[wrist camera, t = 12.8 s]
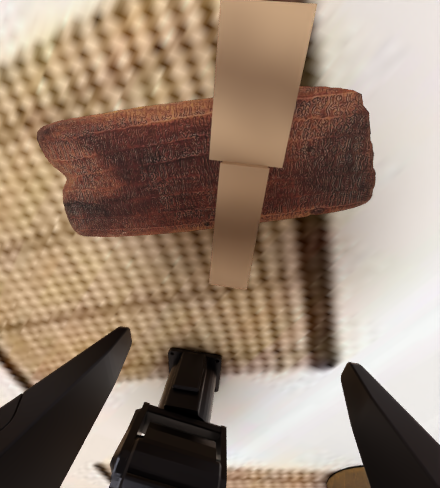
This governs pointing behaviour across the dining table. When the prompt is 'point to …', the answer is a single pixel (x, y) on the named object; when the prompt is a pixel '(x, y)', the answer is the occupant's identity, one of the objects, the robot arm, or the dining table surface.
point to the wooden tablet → (204, 165)
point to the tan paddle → (252, 119)
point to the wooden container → (349, 479)
